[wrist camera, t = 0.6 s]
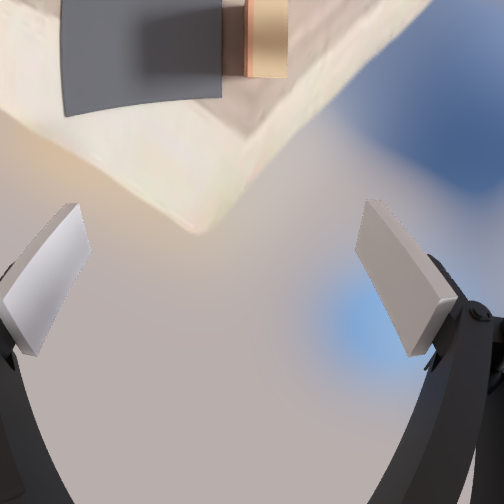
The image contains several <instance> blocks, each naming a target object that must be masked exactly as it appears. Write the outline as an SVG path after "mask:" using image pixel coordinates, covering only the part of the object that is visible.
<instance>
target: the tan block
mask: <svg viewBox="0 0 504 504" xmlns="http://www.w3.org/2000/svg"><path fill="white" fill-rule="evenodd" d="M287 54H288V0H245V5H244V77H262V78H287Z"/></svg>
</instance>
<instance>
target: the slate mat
mask: <svg viewBox="0 0 504 504" xmlns="http://www.w3.org/2000/svg"><path fill="white" fill-rule="evenodd" d="M61 55H62V78H63V92H64V103H65V112H66V117H69V116H74V115H79V114H83V113H88V112H94V111H99V110H105V109H110V108H117V107H123V106H130V105H137V104H145V103H154V102H163V101H174V100H186V99H202V98H222V0H62V21H61Z"/></svg>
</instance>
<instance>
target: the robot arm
mask: <svg viewBox="0 0 504 504" xmlns="http://www.w3.org/2000/svg"><path fill="white" fill-rule="evenodd" d="M355 251H356V253H357V255H358V257H359V258H360V260H361V262H362V264H363V266H364V268H365V270H366V271H367V273H368V275H369V277H370V279H371V281H372V283H373V285H374V287H375V288H376V291H377V292H378V295H379V297H380V298H381V301H382V302H383V305H384V306H385V308H386V311H387V313H388V315H389V317H390V319H391V321H392V323H393V325H394V327H395V329H396V331H397V334H398V336H399V338H400V340H401V342H402V344H403V347H404V348H405V351H406V353H407V356H408V357H413V356H418V355H423V354H425V353H426V352H427V351H428V349H429V347H430V346H431V344H432V343H433V345H434V347H435V349H436V352H435V353H434V355H433V356H432V358H431V359H430V361H429V362H428V364H427V365H426V367H425V368H424V370H427V369H428V367H429V369H428V372H427V375H426V378H425V381H424V384H423V387H422V389H421V392H420V395H419V398H418V400H417V403H416V406H415V408H414V411H413V413H412V416H411V418H410V420H409V423H408V425H407V428H406V430H405V432H404V434H403V437H402V439H401V441H400V443H399V445H398V448H397V450H396V452H395V454H394V456H393V458H392V460H391V462H390V464H389V466H388V468H387V470H386V472H385V473H384V475H383V477H382V479H381V481H380V483H379V485H378V486H377V488H376V490H375V492H374V494H373V495H372V497H371V499H370V500H369V502H368V503H367V504H457V502H458V499H459V497H460V494H461V491H462V489H463V486H464V483H465V480H466V477H467V474H468V471H469V468H470V465H471V461H472V458H473V454H474V451H475V447H476V456H475V468H474V478H473V486H472V493H471V500H470V504H504V318H500V317H494V316H492V314H491V313H490V311H489V310H488V309H487V308H486V307H485V306H484V305H482V304H481V303H479V302H476V301H468V299H467V298H466V297H465V295H464V294H463V292H462V291H461V290H460V288H459V287H458V286H457V284H456V283H455V281H454V280H453V279H451V276H450V275H449V273H447V272H446V269H445V268H444V267H443V266H442V264H441V263H440V262H439V261H438V260H437V259H435V258H434V257H433V256H431V255H429V254H426V253H425V252H424V251H423V249H422V248H421V247H420V246H419V244H418V243H417V242H416V241H415V239H414V238H413V237H412V236H411V235H410V233H409V232H408V231H407V230H406V229H405V227H404V226H403V225H402V224H401V223H400V222H399V220H398V219H397V218H396V217H395V216H394V215H393V213H392V212H391V211H390V210H389V209H388V208H387V207H386V206H385V204H384V203H383V202H382V201H381V200H368V199H366V202H365V208H364V212H363V217H362V222H361V226H360V230H359V235H358V239H357V243H356V248H355ZM91 253H92V251H91V248H90V245H89V241H88V237H87V234H86V230H85V226H84V222H83V218H82V214H81V210H80V206H79V203H70V204H65V205H64V206H63V207H62V208H61V209H60V210H59V211H58V213H57V214H56V215H55V216H54V217H53V218H52V219H51V220H50V221H49V222H48V223H47V225H46V226H45V227H44V228H43V229H42V230H41V231H40V233H39V234H38V235H37V236H36V237H35V238H34V240H33V241H32V242H31V243H30V244H29V246H28V247H27V248H26V249H25V250H24V252H23V253H22V254H21V255H20V256H19V258H18V259H17V260H16V261H15V262H14V263H13V264H11V265H10V266H9V268H8V269H7V270H6V271H5V273H4V276H2V277H1V278H0V504H74V502H73V500H72V499H71V497H70V495H69V493H68V491H67V490H66V488H65V486H64V484H63V482H62V481H61V478H60V476H59V474H58V472H57V470H56V468H55V466H54V464H53V462H52V459H51V457H50V455H49V453H48V450H47V449H46V446H45V444H44V441H43V439H42V436H41V434H40V431H39V429H38V426H37V423H36V421H35V418H34V415H33V412H32V409H31V406H30V403H29V400H28V397H27V394H26V391H25V387H24V384H23V381H22V377H21V373H20V369H19V365H18V361H17V357H16V355H15V353H14V352H13V348H14V346H15V344H16V345H17V346H18V347H19V349H20V351H21V352H22V353H23V354H26V355H31V356H36V357H37V356H38V354H39V352H40V349H41V347H42V345H43V343H44V341H45V338H46V336H47V334H48V332H49V330H50V328H51V326H52V324H53V322H54V320H55V318H56V316H57V314H58V312H59V310H60V308H61V306H62V304H63V302H64V300H65V298H66V297H67V294H68V293H69V291H70V289H71V287H72V286H73V284H74V282H75V280H76V278H77V277H78V275H79V273H80V271H81V270H82V268H83V266H84V264H85V263H86V261H87V259H88V258H89V256H90V254H91Z"/></svg>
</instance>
